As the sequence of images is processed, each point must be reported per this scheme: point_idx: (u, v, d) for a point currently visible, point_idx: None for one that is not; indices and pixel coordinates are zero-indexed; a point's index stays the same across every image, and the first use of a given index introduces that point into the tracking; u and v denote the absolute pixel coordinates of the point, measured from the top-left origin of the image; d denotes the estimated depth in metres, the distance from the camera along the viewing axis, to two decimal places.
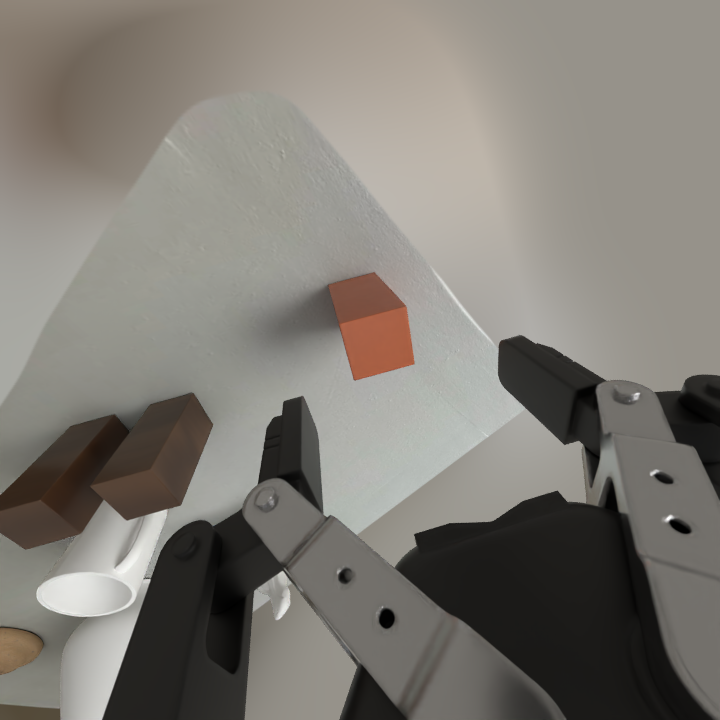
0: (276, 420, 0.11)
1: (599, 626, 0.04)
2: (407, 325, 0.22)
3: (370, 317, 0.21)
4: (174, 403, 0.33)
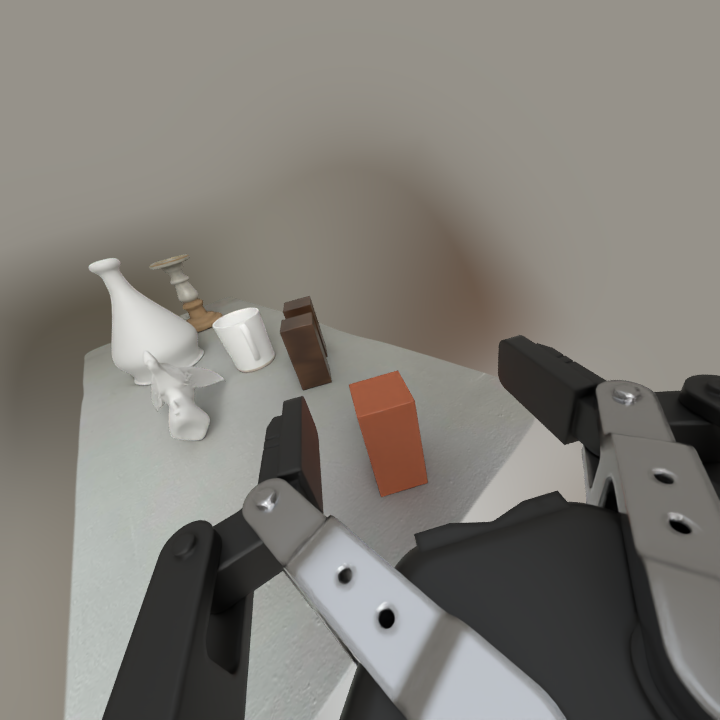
0: (276, 420, 0.11)
1: (599, 626, 0.04)
2: (397, 404, 0.25)
3: (403, 383, 0.27)
4: (328, 370, 0.51)
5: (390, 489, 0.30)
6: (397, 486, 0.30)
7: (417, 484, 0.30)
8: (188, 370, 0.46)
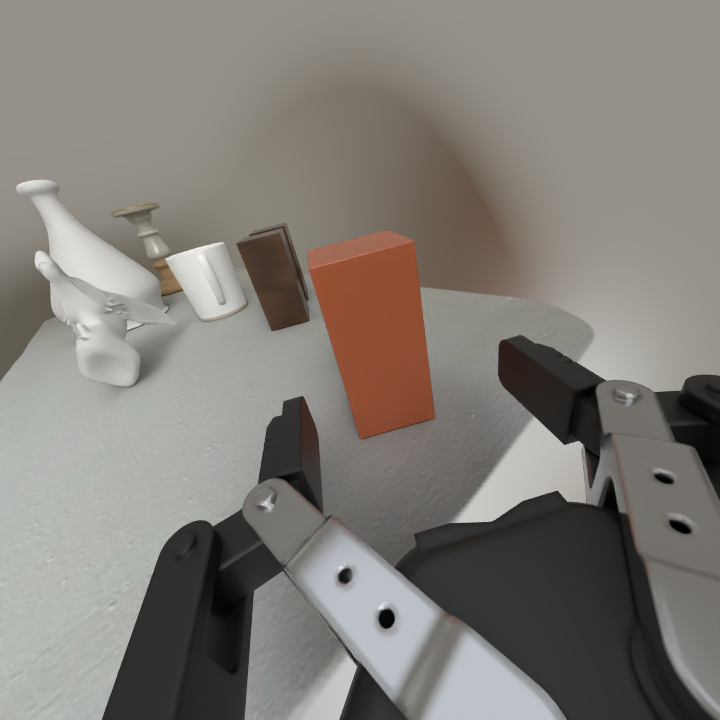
0: (275, 420, 0.11)
1: (599, 626, 0.04)
2: (381, 248, 0.14)
3: (395, 234, 0.16)
4: (306, 307, 0.39)
5: (375, 426, 0.19)
6: (386, 421, 0.18)
7: (418, 419, 0.19)
8: (118, 297, 0.35)
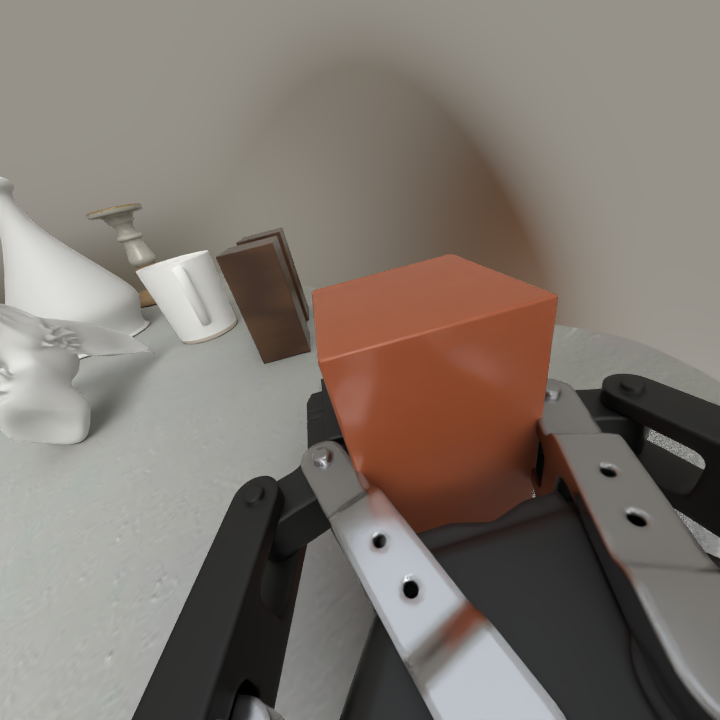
0: (314, 396, 0.11)
1: (600, 652, 0.04)
2: (484, 311, 0.06)
3: (482, 268, 0.08)
4: (306, 333, 0.32)
5: None
6: None
7: None
8: (66, 325, 0.27)
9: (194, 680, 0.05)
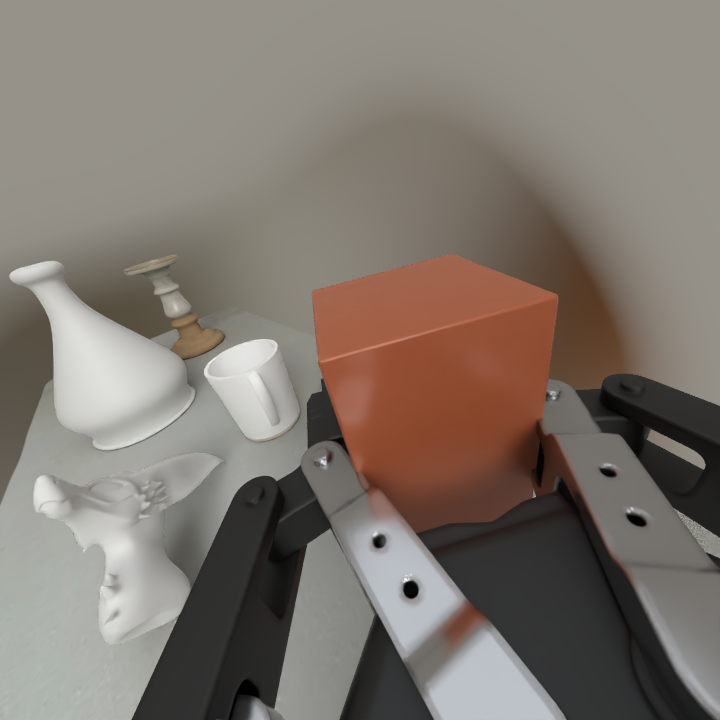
0: (315, 396, 0.11)
1: (599, 652, 0.04)
2: (484, 312, 0.06)
3: (483, 268, 0.08)
4: None
5: None
6: None
7: None
8: (153, 475, 0.24)
9: (194, 680, 0.05)
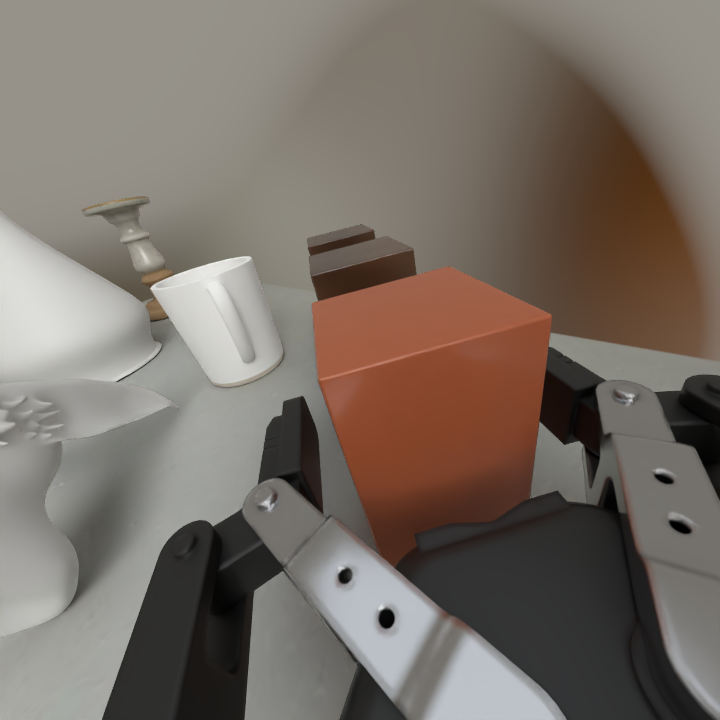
0: (276, 420, 0.11)
1: (599, 626, 0.04)
2: (480, 331, 0.06)
3: (480, 283, 0.08)
4: None
5: None
6: None
7: None
8: (38, 392, 0.16)
9: None
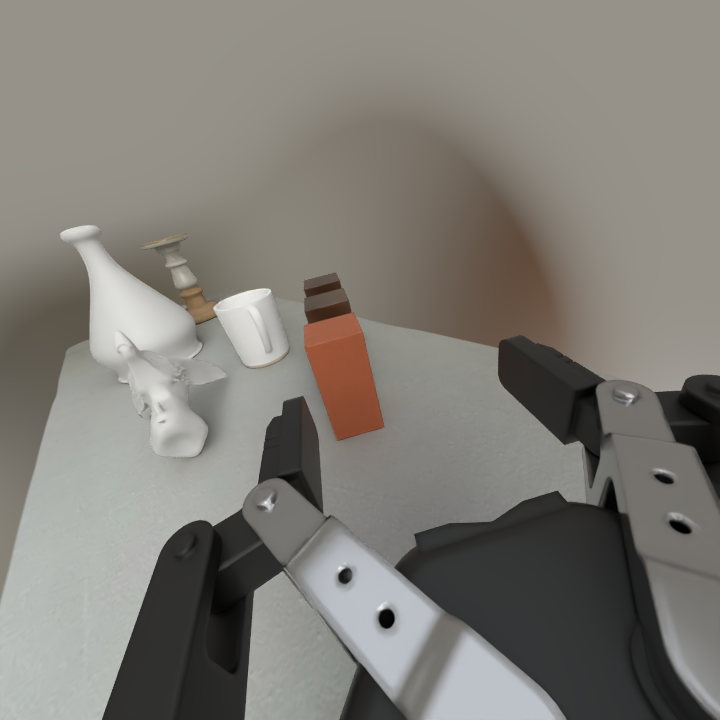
0: (276, 420, 0.11)
1: (599, 626, 0.04)
2: (344, 335, 0.25)
3: (355, 320, 0.27)
4: None
5: (346, 432, 0.30)
6: (353, 429, 0.30)
7: (373, 428, 0.30)
8: (180, 362, 0.34)
9: None
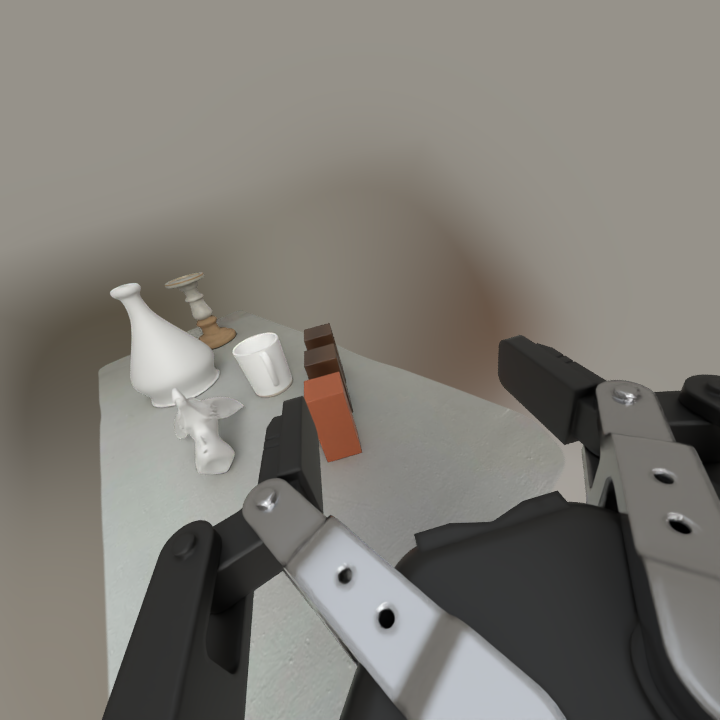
0: (276, 420, 0.11)
1: (599, 626, 0.04)
2: (331, 394, 0.37)
3: (339, 380, 0.39)
4: None
5: (334, 456, 0.42)
6: (339, 454, 0.41)
7: (354, 453, 0.42)
8: (212, 402, 0.46)
9: None
